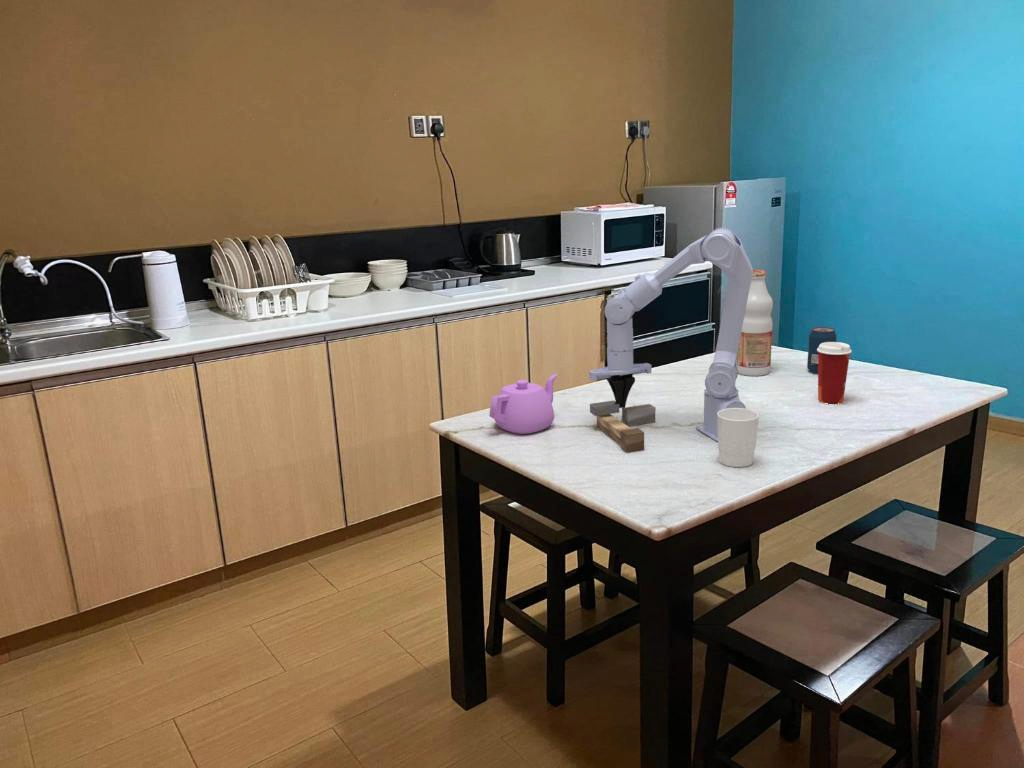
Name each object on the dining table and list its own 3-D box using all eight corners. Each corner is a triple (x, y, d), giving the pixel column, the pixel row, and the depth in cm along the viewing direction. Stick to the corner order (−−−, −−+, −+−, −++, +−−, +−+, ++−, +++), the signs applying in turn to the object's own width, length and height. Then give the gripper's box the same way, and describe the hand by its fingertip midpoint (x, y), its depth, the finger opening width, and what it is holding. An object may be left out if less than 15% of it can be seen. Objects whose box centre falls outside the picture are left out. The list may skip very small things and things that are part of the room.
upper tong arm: (635, 438, 168) (635, 431, 168) (622, 440, 168) (622, 433, 167) (609, 419, 181) (609, 413, 181) (597, 421, 181) (596, 414, 180)
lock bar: (619, 412, 179) (619, 404, 178) (595, 416, 177) (594, 407, 177) (614, 408, 182) (614, 400, 181) (589, 412, 180) (589, 403, 180)
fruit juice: (727, 371, 220) (730, 271, 212) (751, 365, 224) (755, 267, 216) (753, 378, 212) (758, 275, 204) (777, 372, 217) (782, 270, 209)
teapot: (577, 422, 185) (576, 376, 182) (510, 443, 174) (508, 395, 171) (540, 409, 196) (538, 366, 192) (475, 429, 184) (472, 383, 181)
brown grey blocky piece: (686, 443, 169) (687, 425, 168) (626, 452, 165) (626, 434, 164) (649, 418, 185) (649, 402, 184) (594, 426, 181) (593, 410, 180)
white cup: (749, 452, 162) (751, 406, 159) (762, 467, 154) (764, 419, 152) (711, 455, 162) (712, 408, 159) (722, 469, 154) (723, 421, 151)
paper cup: (854, 403, 189) (859, 346, 185) (829, 408, 186) (833, 350, 182) (830, 394, 196) (834, 339, 192) (806, 399, 193) (809, 343, 189)
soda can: (815, 367, 220) (818, 325, 216) (839, 371, 215) (842, 328, 211) (801, 372, 216) (804, 329, 212) (825, 377, 210) (828, 333, 207)
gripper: (641, 341, 182) (641, 397, 186) (583, 348, 178) (584, 405, 182) (655, 348, 176) (655, 406, 179) (595, 355, 172) (596, 414, 176)
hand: (620, 406), depth 180 cm, fingers closed
